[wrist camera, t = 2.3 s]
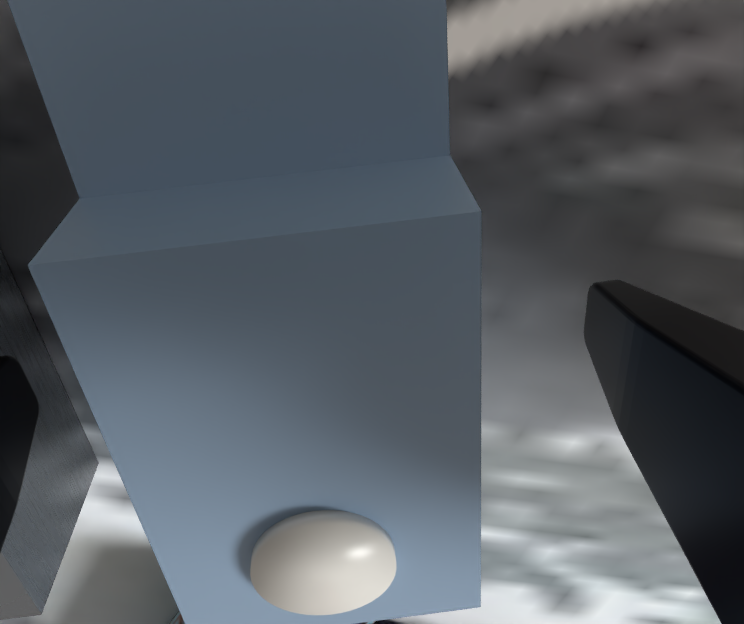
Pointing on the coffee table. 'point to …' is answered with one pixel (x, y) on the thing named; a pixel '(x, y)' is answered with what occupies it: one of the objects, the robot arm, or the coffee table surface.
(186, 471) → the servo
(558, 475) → the coffee table surface
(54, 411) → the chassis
